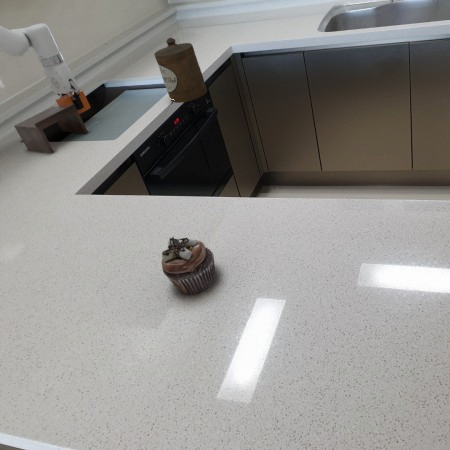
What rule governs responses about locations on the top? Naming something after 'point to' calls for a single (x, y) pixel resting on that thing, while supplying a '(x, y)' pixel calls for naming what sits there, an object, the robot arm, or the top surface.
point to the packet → (67, 101)
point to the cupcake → (189, 265)
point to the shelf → (34, 125)
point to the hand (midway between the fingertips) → (75, 108)
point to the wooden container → (180, 71)
